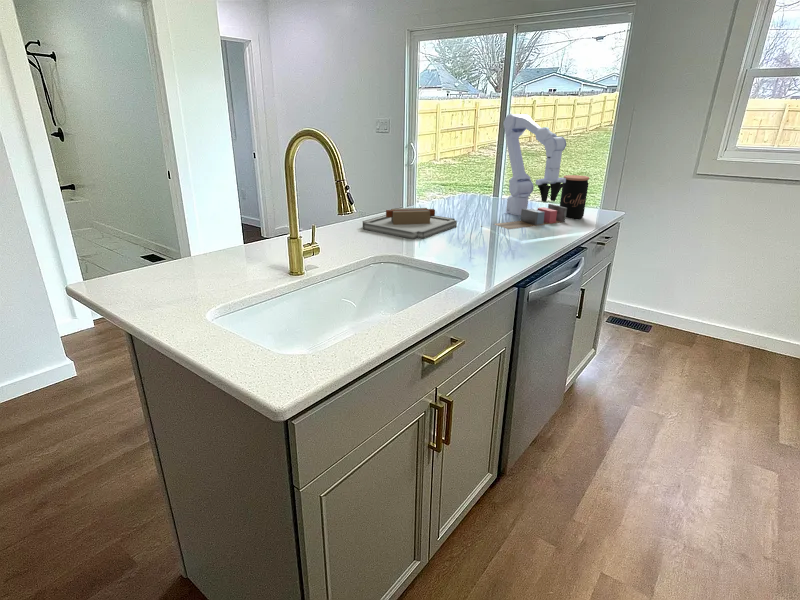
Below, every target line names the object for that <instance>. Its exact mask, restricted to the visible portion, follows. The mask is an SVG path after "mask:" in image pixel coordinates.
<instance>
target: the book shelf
mask: <svg viewBox="0 0 800 600" xmlns="http://www.w3.org/2000/svg"><path fill="white" fill-rule="evenodd" d="M547 208H549V209H553V210H556V211H557V216H556V223H547V222H543V224H540V225H533V224H530V223H527V222H523V221H521V220H517V221H516V220H515V221H508V222H500V223H499V222H498V223H494V225H495V226H496V227H497V226H498V227H501V228H503V229H505V230H506V229H507V230H515V229H520V228H522V229H523V228H531V227H537V226H545V225H546V226H547V225H553V224H554V225H555V224H561V223H566V220H567V219H566V218H567V217H566V212H567V208H565V207H561V206H560V205H557V204H553V203H548V206H547Z"/></svg>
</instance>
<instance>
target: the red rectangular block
mask: <svg viewBox="0 0 800 600" xmlns="http://www.w3.org/2000/svg"><path fill="white" fill-rule="evenodd" d="M537 210H539V211H542V212H545V214H544V222H547V223H554V224H557V223H556V216H557V211H556V210H553V209H549V208H548V207H544V206H543V207H537Z"/></svg>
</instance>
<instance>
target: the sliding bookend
mask: <svg viewBox="0 0 800 600" xmlns="http://www.w3.org/2000/svg"><path fill="white" fill-rule="evenodd" d="M528 209H529V208H527V209H525V208H522V211H521V215H520V221H523V222H527V223H530V224H533V225H537V218H538V212H535V211H532V210H528Z"/></svg>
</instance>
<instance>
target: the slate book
mask: <svg viewBox="0 0 800 600" xmlns="http://www.w3.org/2000/svg"><path fill="white" fill-rule="evenodd" d="M527 209H528V210H532V211H535V212H538V218H537V225H539V226H541V225H540V224H543V222H544V214H545V212H542V211H539V210H538V209H536V208H535V209H534V208H527Z"/></svg>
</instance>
